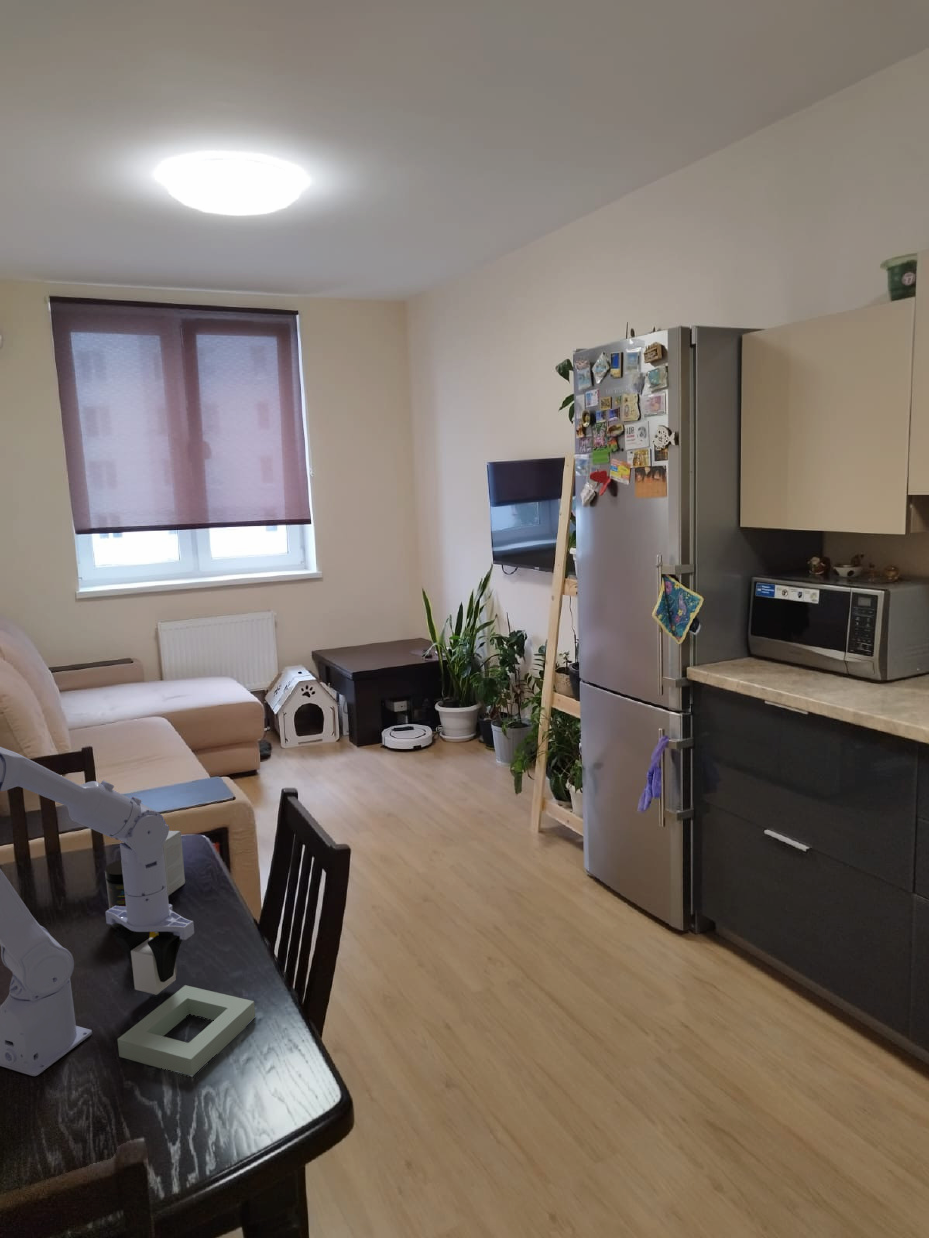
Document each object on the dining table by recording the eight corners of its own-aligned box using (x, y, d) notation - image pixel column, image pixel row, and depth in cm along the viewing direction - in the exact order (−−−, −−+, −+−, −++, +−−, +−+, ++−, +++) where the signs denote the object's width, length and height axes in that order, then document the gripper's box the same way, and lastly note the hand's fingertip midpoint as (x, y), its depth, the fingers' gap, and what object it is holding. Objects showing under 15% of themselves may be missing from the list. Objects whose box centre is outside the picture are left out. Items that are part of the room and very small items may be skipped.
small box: (130, 892, 161) (125, 838, 159) (150, 879, 166) (144, 826, 164) (168, 897, 158) (162, 842, 157) (186, 883, 164) (181, 830, 162)
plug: (156, 994, 124) (152, 955, 123) (134, 989, 126) (130, 950, 125) (181, 975, 129) (177, 937, 128) (160, 970, 130) (156, 933, 129)
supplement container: (159, 922, 149) (153, 865, 147) (119, 937, 145) (112, 878, 143) (144, 909, 154) (138, 853, 152) (105, 922, 150) (98, 865, 148)
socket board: (192, 1077, 109) (190, 1059, 109) (119, 1056, 114) (117, 1038, 113) (255, 1017, 121) (254, 1001, 120) (186, 1000, 125) (185, 985, 125)
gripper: (204, 882, 125) (212, 969, 127) (127, 868, 131) (136, 952, 133) (170, 904, 119) (179, 996, 121) (90, 889, 124) (100, 977, 126)
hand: (154, 975), depth 126 cm, fingers closed on plug, 4 cm apart
